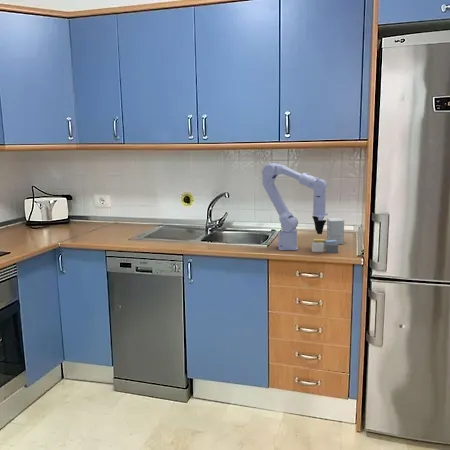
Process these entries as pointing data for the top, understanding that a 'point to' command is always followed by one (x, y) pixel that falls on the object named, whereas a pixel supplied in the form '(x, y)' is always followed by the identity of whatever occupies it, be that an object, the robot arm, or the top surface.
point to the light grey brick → (317, 247)
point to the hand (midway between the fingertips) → (318, 232)
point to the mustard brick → (319, 241)
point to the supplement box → (335, 230)
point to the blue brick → (329, 242)
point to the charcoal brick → (331, 248)
